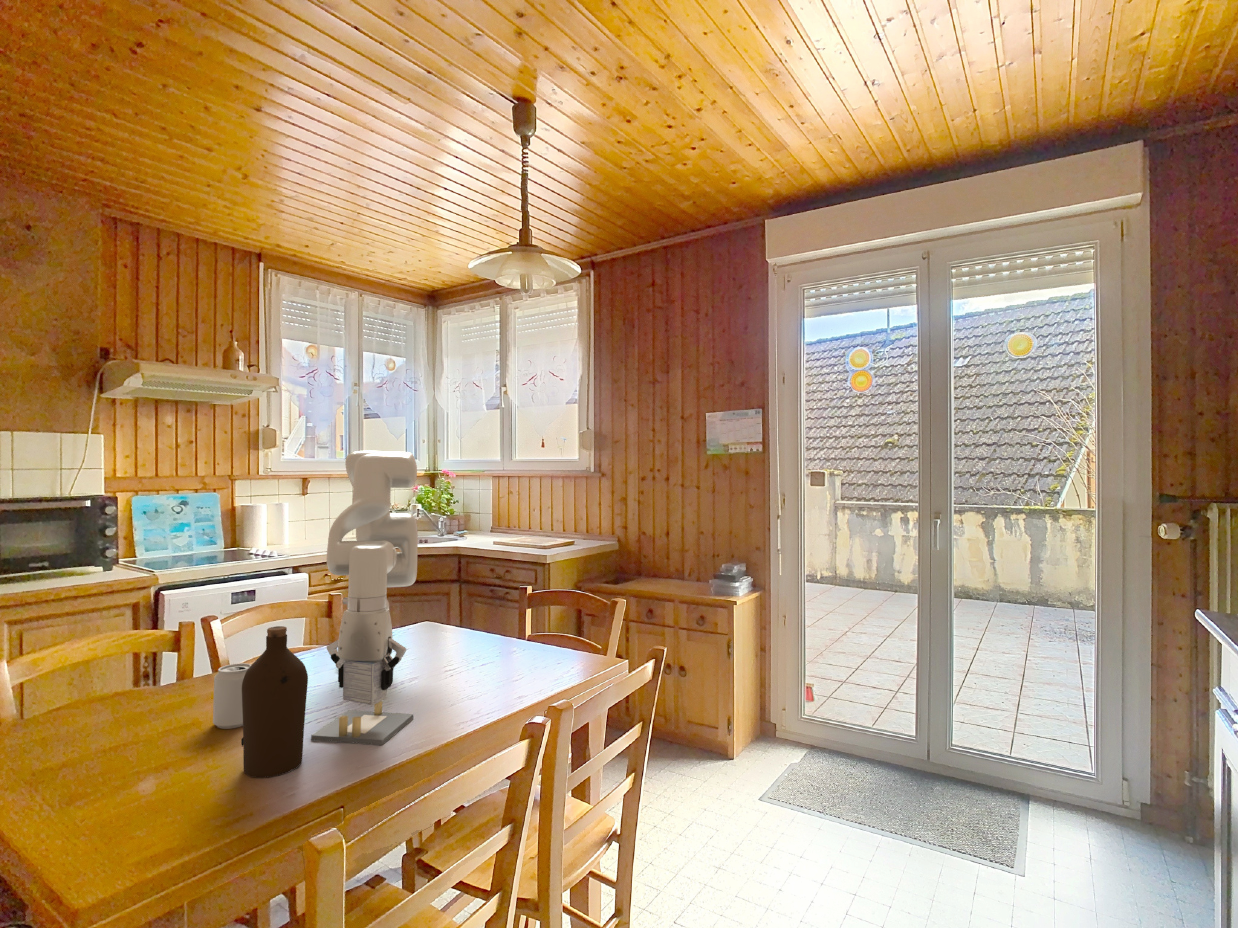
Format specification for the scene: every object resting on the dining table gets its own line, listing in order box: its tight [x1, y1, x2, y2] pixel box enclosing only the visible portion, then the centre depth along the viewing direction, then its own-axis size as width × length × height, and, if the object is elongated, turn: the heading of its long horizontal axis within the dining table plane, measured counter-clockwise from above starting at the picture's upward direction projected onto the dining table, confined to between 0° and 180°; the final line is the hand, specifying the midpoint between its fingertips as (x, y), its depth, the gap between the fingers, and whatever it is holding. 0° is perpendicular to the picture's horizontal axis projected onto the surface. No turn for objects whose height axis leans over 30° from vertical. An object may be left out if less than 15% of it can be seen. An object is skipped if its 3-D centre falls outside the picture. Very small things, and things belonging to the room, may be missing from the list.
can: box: [212, 662, 252, 730], centre depth 136 cm, size 8×8×12 cm
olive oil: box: [240, 625, 309, 779], centre depth 117 cm, size 11×11×25 cm
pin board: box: [310, 701, 414, 746], centre depth 134 cm, size 15×14×4 cm
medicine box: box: [342, 659, 388, 706], centre depth 134 cm, size 8×4×9 cm, turn 69°
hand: (365, 686), depth 134 cm, fingers closed on medicine box, 8 cm apart
